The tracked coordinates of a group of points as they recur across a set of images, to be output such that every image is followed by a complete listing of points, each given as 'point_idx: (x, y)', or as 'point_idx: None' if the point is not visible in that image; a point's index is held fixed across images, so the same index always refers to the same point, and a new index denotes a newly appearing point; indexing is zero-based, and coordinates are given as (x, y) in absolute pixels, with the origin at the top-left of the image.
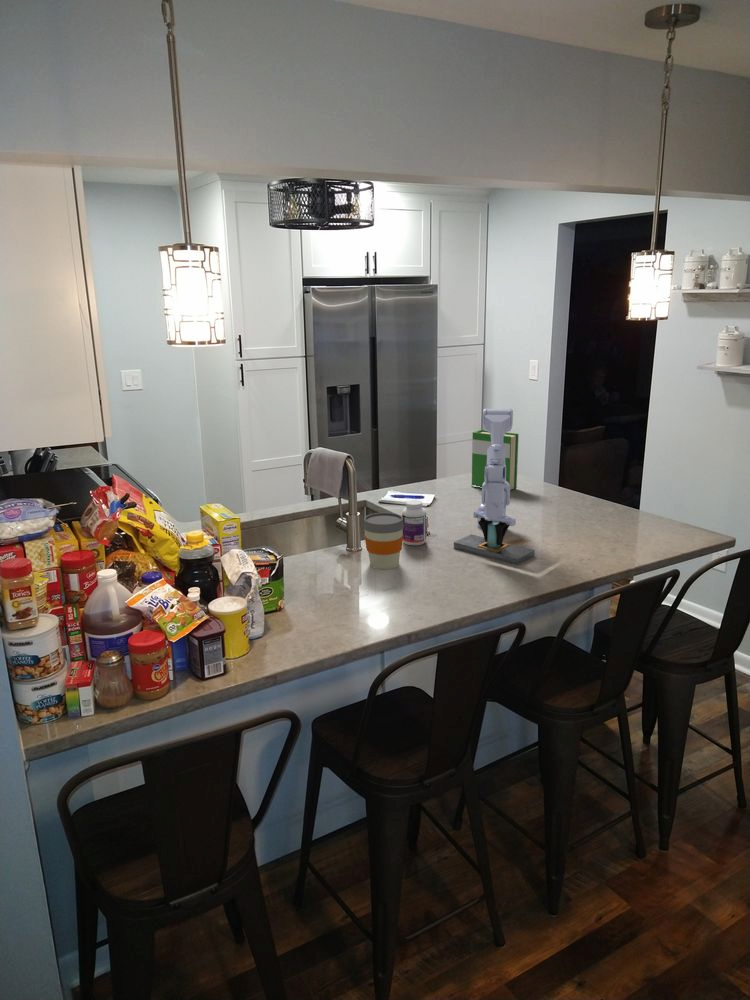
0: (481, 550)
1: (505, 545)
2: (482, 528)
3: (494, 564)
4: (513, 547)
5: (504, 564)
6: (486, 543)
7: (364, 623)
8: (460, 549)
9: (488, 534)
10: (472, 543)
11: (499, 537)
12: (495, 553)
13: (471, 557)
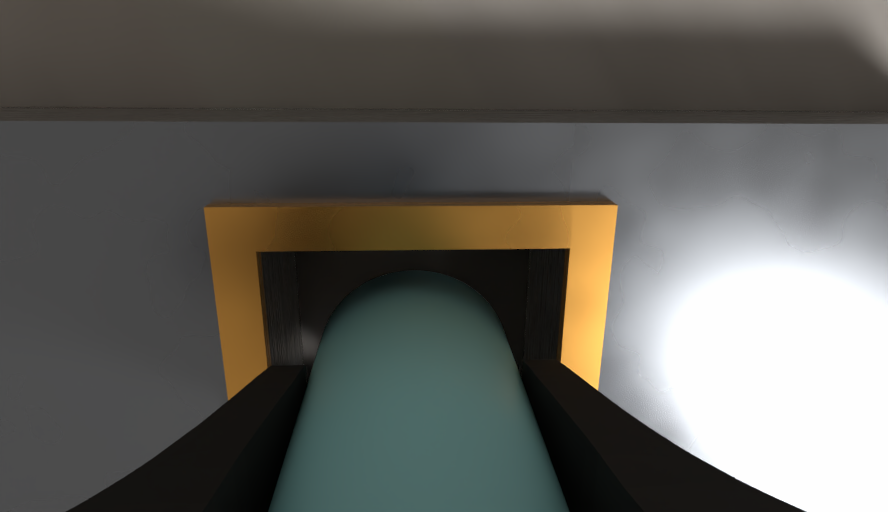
0: (481, 121)
1: None
2: (741, 507)
3: (174, 19)
4: None
5: (66, 109)
6: None
7: None
8: (850, 115)
9: (491, 431)
10: (753, 268)
11: (168, 449)
12: (174, 118)
13: (598, 50)
